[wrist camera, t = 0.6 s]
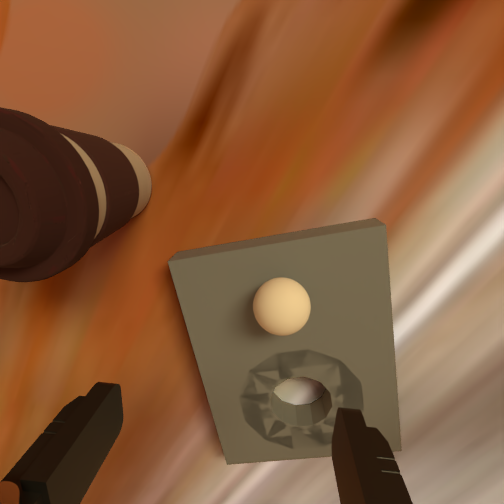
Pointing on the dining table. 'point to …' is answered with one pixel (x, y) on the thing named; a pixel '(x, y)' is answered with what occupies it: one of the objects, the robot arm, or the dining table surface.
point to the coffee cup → (61, 194)
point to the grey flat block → (293, 338)
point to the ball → (281, 306)
